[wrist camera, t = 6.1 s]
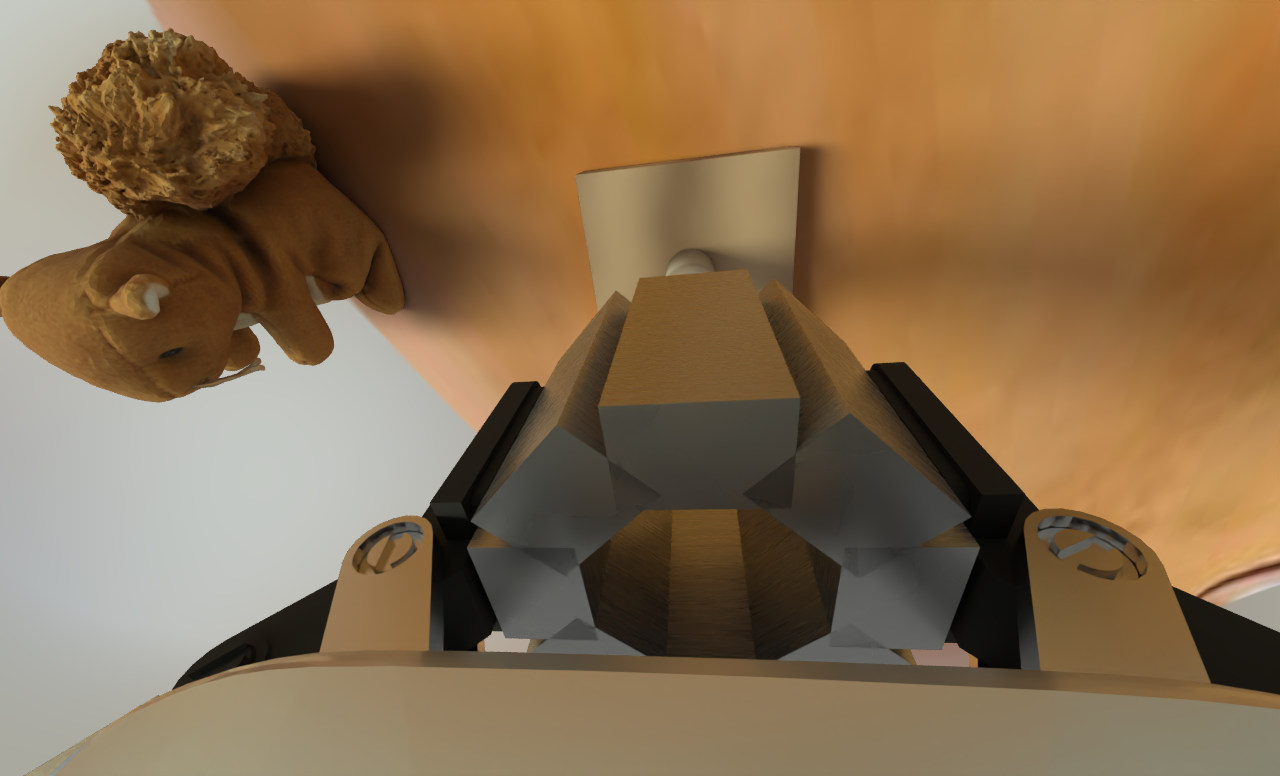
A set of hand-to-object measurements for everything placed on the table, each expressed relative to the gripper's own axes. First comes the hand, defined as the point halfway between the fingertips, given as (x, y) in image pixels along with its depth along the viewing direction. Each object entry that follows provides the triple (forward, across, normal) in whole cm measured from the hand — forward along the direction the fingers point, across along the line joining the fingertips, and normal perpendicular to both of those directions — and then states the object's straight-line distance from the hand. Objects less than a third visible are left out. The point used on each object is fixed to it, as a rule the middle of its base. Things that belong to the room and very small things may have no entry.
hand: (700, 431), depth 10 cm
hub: (+1, 0, 0) cm, 1 cm away
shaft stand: (+16, 0, 0) cm, 16 cm away
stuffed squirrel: (+16, +21, -4) cm, 27 cm away
